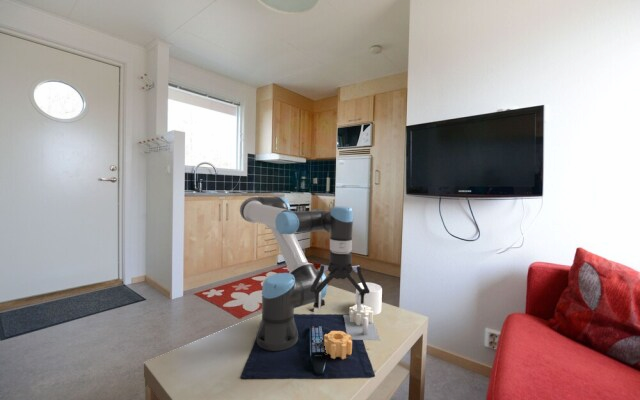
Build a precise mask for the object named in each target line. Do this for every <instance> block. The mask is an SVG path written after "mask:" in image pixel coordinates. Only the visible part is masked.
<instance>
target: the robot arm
mask: <svg viewBox="0 0 640 400" xmlns="http://www.w3.org/2000/svg"><path fill="white" fill-rule="evenodd" d="M353 211H354V210H353V209H352V207H351V206H341V205H340V206H338V205H337V206H336V205H335V206H332V207H331V209H330V210H324V209H313V210H302V211H301V210H297V211H296V210H291V206H290V202H289V201H288V200H287V199H286V198H284V197H282V196H281V197H280V196H253V197H252V196H251V197H248V198H247V199H245V200H244V201H243V202H242V203H241V205H240V206H239V214H240V216H241V218H242V219H243V220H244V221H246V222H249V223H251V224H252V223H254V224H255V223H260V224H262V225H265V226H266V228H268V229H270V230H271V232H272V233H273V236H274V239H275V241H276V244H277V245H278V247H279V250H280V252H281V255H282V257H283V259H284V262H285V264H286V266H287V267H286V268H287V269H288V271H289V272H282V273H281V272H278V273H273V274H272V275H269V276H268V277H266V278H265V279H264V281H263V282H262V290H261V297H262V298H261V321H260V324H259V327H258V329H257V333H256V343H257V345H258V346H259V347H260V348H261V349H264V350H265V351H271V352H279V351H285V350H287V349H290V348H292V347H293V346H295V345H296V344H297V342H298V341H299V340H298V339H299V332H298V327H297V324H296V322H295V317H294V315H295V312H294V311H295V309H296V308H300V307H303V306H307V305H309V304H312V303H313V304H314V303H315V302H316V303H319V306H318V307H319V308H318V307H317V308H318V312H317V313H318V314H321V313H322V311H321V309H322V307H321V306H322V305H321V299H323V300H324V298H325V297H326V295H327V292H328V284H329V283H330V282H331V281H332V280H333V279H335V280H340V279H341V280H345V279H347V280H348V281H349V282H350V283H351V284H352V285H353V286H354V288H355V290H356V289H357V290H358V291H359V293H358V296H357V312H358V314H360V309H361V304H363V303H364V295H365V294H366V293H369V292H370V291H369V289H368V287H367V285H366V283H365V282H366V280H365V279H364V276H363V274H362V272H361V271H362V270H361V265H359V264H356V265H352V259H353V258H352V257H353V254H352V251H353V224H354V218H353V217H354V216H353V215H354V214H353ZM313 232H327V233H330V235H329V236H330V237H329V250H330V252H329V264H328V265H325V264H324V263H321V264H320V267H319V269H317V270H316V267H315V265H314V264H313V263H311V262H309V261H308V259H307V258H306V256H305V253H304V251H303V249H302V247H301V245H300V243H299V241H298V238H297V236H296V234H301V233H303V234H304V233H313ZM327 270H328V272H329V274H327V276H326V271H327ZM353 271H354V273H357V275H358V278H359V280H360V283H362V285H363V287H364V289H362V288H361V287H360V286H359V285H358V284H359V283H358V282H357V281H356V279H355V278H354V276H352V275H351V273H352V272H353Z"/></svg>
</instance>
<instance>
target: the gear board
mask: <svg viewBox="0 0 640 400" xmlns="http://www.w3.org/2000/svg"><path fill="white" fill-rule="evenodd" d="M360 310H364V306H363V305H361V309H360ZM343 319H344V325H345V333H346V334H348V335H350V336H351V340H352V341H353V340H354V341H361V340H362V341H381V338H380V336H379V333H378V331H377V328H376V326H375V322H374V321H373V322H372V323H369V325H368V318H367V317H363V324H360V326H359V325H356V323H355V322H352V323H351V322H350V318H349V314H343Z"/></svg>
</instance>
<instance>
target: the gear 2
mask: <svg viewBox="0 0 640 400" xmlns="http://www.w3.org/2000/svg"><path fill="white" fill-rule="evenodd" d="M363 306H364V310H360V314H358V312H357V304H356V303H355V304H354V305H353V306H350V307H349V311H348V313H349V314H348V315H349V318H350V322H351V323H352V322H355V323H356V325H359V326H360V324H363V317H367V318H368V325H369V323H372V322H374V315H373V311H372V308H371V307H368V306H366V305H363Z"/></svg>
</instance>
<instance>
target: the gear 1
mask: <svg viewBox="0 0 640 400" xmlns="http://www.w3.org/2000/svg"><path fill="white" fill-rule="evenodd" d="M324 346H325V350H326V353H327V354H326V355H328V354H329V355H330V358H331V359H334V360H335V359H336V358H340V359H341V360H344V359H347V356H352V352H353V351H352V350H353V340H351V336H350V335H348V334H347V332H345V331H342V330H331V331H330V332H328V333H325V334H324V335H323V347H324Z"/></svg>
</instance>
